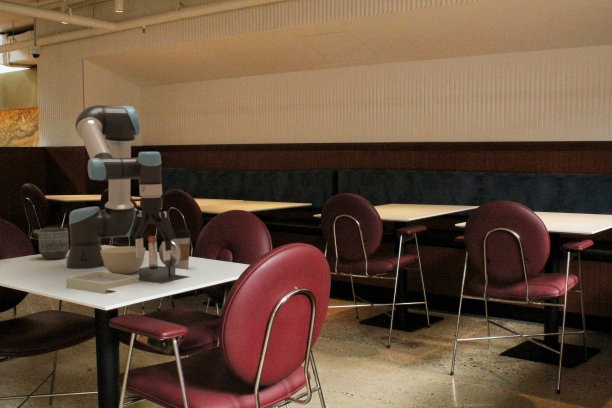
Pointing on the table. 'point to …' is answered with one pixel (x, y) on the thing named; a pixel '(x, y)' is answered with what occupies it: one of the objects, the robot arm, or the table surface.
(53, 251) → the planter
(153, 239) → the pin
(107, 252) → the bowl
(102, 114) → the robot arm
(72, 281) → the tray
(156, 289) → the table surface
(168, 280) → the block
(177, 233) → the coffee cup
